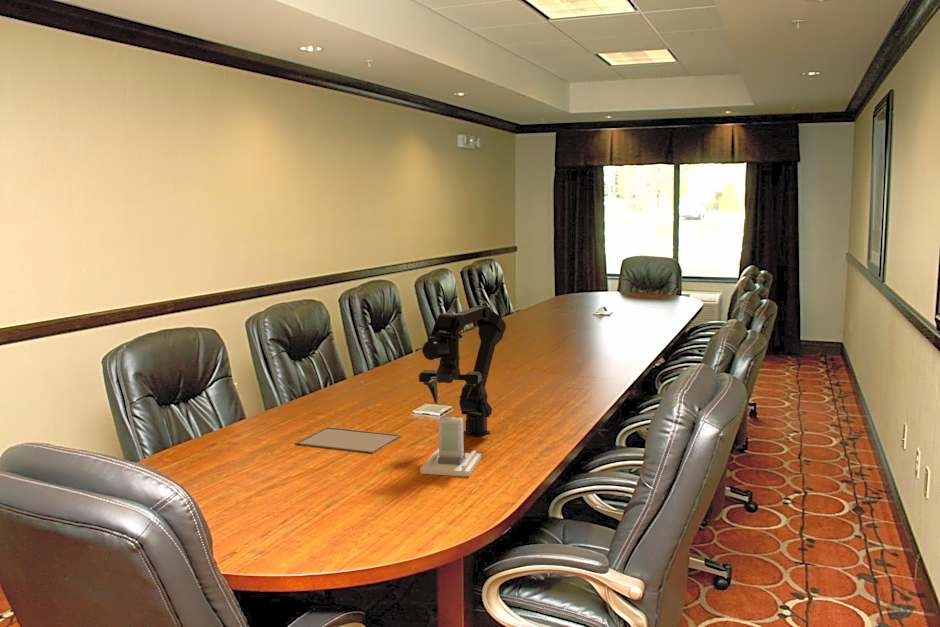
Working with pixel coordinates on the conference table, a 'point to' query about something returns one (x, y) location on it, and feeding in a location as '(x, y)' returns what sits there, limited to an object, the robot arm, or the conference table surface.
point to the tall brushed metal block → (451, 441)
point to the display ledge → (451, 465)
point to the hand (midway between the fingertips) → (450, 404)
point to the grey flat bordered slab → (349, 439)
